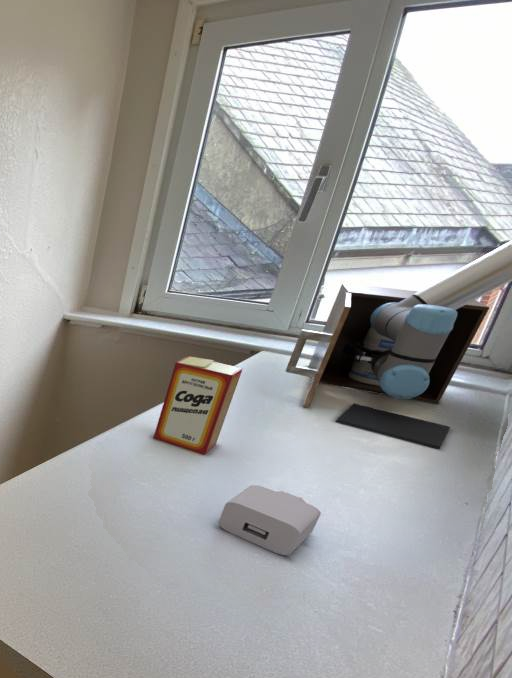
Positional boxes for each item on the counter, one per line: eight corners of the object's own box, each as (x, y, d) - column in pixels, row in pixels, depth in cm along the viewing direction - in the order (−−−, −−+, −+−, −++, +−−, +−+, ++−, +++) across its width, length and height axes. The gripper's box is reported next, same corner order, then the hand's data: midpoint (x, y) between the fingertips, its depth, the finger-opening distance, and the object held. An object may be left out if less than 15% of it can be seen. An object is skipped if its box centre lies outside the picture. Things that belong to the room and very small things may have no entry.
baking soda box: (215, 445, 107) (243, 366, 100) (204, 454, 102) (233, 373, 95) (165, 429, 113) (188, 354, 105) (153, 438, 108) (176, 360, 101)
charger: (323, 523, 82) (288, 558, 74) (255, 496, 89) (216, 526, 80) (336, 496, 80) (301, 529, 72) (266, 471, 87) (227, 499, 78)
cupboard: (438, 404, 134) (489, 307, 124) (311, 381, 147) (348, 291, 137) (423, 385, 148) (468, 296, 138) (308, 366, 160) (342, 283, 150)
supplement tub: (364, 386, 142) (390, 330, 136) (338, 374, 151) (361, 321, 144) (402, 388, 142) (430, 332, 136) (373, 376, 151) (398, 323, 144)
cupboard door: (273, 400, 132) (312, 302, 121) (283, 376, 150) (317, 289, 139) (308, 407, 128) (350, 307, 118) (314, 382, 146) (351, 293, 136)
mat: (439, 449, 109) (440, 446, 109) (335, 421, 121) (336, 419, 120) (448, 429, 120) (450, 426, 119) (352, 405, 131) (353, 403, 131)
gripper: (330, 372, 136) (324, 353, 153) (449, 393, 125) (428, 370, 142) (342, 343, 133) (335, 327, 150) (466, 361, 122) (443, 342, 139)
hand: (380, 348), depth 146 cm, fingers closed on supplement tub, 9 cm apart
